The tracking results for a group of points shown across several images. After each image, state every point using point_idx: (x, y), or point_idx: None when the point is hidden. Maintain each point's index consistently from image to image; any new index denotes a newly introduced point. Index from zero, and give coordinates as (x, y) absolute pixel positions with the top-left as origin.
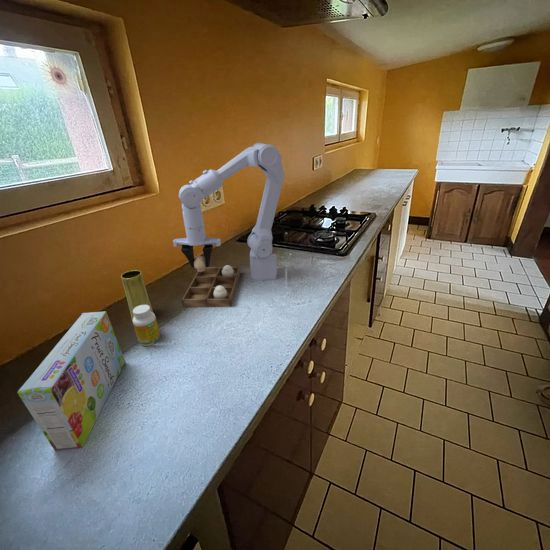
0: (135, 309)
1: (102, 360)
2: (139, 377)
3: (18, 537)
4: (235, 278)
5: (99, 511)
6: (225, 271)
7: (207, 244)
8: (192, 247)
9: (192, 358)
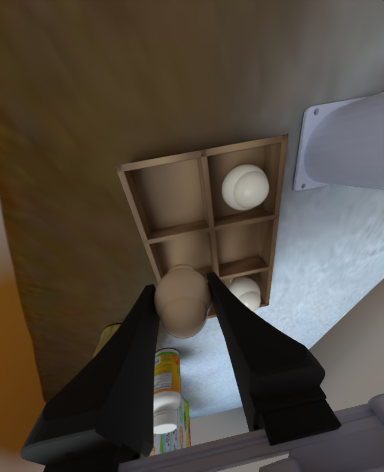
0: (156, 432)
1: (176, 439)
2: (189, 378)
3: (191, 418)
4: (273, 227)
5: (218, 408)
6: (244, 208)
7: (293, 447)
8: (123, 386)
9: (228, 357)
